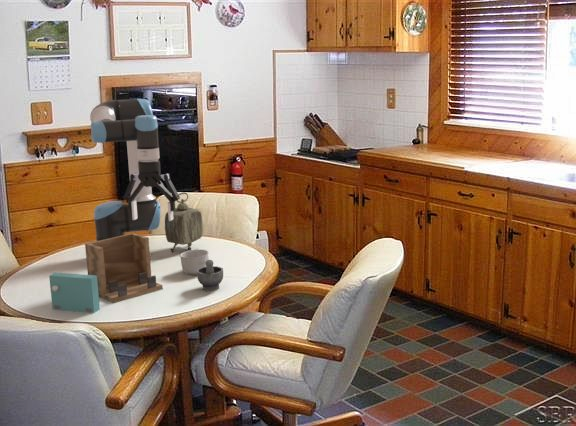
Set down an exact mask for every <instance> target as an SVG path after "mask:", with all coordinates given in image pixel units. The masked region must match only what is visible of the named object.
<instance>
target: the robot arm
mask: <svg viewBox="0 0 576 426" xmlns="http://www.w3.org/2000/svg"><path fill="white" fill-rule="evenodd" d="M89 118H90V133H91V141H92V142H93V143H94V144H95V143H98V144H99V143H100V144H104V143H116V142H126V147H127V148H126V149H127V152H126V153H127V160H128V161H127V162H128V173H129V183H128V185H127V187H126V190H125V193H124V195H123V200H124V201H125V200H126V201H127V203H126V204H124V203H123V201H122V200H111V201H107V202H102V203H100V204H97V206H95V208H94V209H93V210H94V211H93V214H94V216H93V220H94V227H95V239H96V241H100V240H104V239H109V238H113V237H118V236H122V235H126V233H135V232H144V231H147V232H149V231H153V230H157V229H158V228H159V227H160V222H161V213H162V212H161V203H160V201H158V200H157V197H156V196H155V195H153V191H152V190H153V189H152V188H155V187H156V189H158V190H159V192H161V193H162V194H163V196H164V197H165V198H166V200H168V201H167V212H168V217H169V221H171V220H173V219H174V218H173V211H175V208H176V202H177V200H178V201H179V200H181V197H180V196H181V195H178V194H179V193H178V191H177V189H176V187H175V185H174V184H173V182H172V180H171V176H170V175H171V174H170V173H165V174H162V173H161V160H159V159H160V158H161V157H160V146H159V124H158V118H157V116H156V115H154V113H153V109H152V106H151V102H150V101H149V100H148V99H146V98H131V99H117V100H116V99H112V100H106V101H103V102H101V103H99V104H98V105H96V106H95V107H93V109H92V110H91V112H90V116H89ZM161 180H163V181H164V183H165V185H166V186H167V187H166V186H165V185H164V183H163V182H162V181H161Z"/></svg>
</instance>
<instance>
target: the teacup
mask: <svg viewBox="0 0 576 426" xmlns="http://www.w3.org/2000/svg"><path fill="white" fill-rule="evenodd" d="M179 257H180V265H181V268H182V271H184V272H185V273H186V274H187V275H189V276H195V275H196V276H197V269H199V268H202V267H206V261H207V260H210V257H209V250H206V249H199V248H194V249H191V250H186V251H183V252H181V253H180V254H179Z"/></svg>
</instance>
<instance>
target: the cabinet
mask: <svg viewBox="0 0 576 426" xmlns="http://www.w3.org/2000/svg"><path fill="white" fill-rule="evenodd" d="M84 246H85V247H84V249H85V256H86V257H85V258H86V269H87V271H86V272H87V275H96V276H97V283H98V294H99V298H102V299H104V300H106V301H109V302H111V303H112V304H115V303H118V302H122V301H125V300H129V299H133V298H136V297H140V296H143V295H147V294H149V293H154V292H156V291H160V290H163V289H164V288H163V284H160V283H158V282H157V276H156V275H152V268H151V256H150V254H151V253H150V252H151V251H150V241H149V237H148V236H146V235H142V234H138V233H135V232H130V233H127V234H125V235H122V236H118V237H113V238H109V239H104V240H100V241H91V242H87V243H84Z"/></svg>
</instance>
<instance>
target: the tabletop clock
mask: <svg viewBox="0 0 576 426" xmlns="http://www.w3.org/2000/svg"><path fill="white" fill-rule="evenodd" d="M178 195H179V196H181V195H186V198H185V199H183V198H182V199H181V198H180V201H179V200H177V201H176V202H177V203H178V204H177V206H176V207H175V211H173V218H174V219H173V220H171V221H169V217H168V211H167V212H166V213H165V214H164V215H165V216H164V231H165V238H166V241H167V242H168V243H172V244H174V245H173V247H172V248H170V252H171V253H173V252H175V248H176V247H177V246H178V245H183V246H184V245H187V251H189V250H192V247H191V246H192V243H194V242H196V241H198V240H201V238H203V237H202V236H203V233H204V232H203V216H202V212H201V211H200V210H199V209H198V208H191V207H190V206H189V204H187V203H186V201H188V199H189V195H188V193H187V192H180V193H178Z"/></svg>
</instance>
